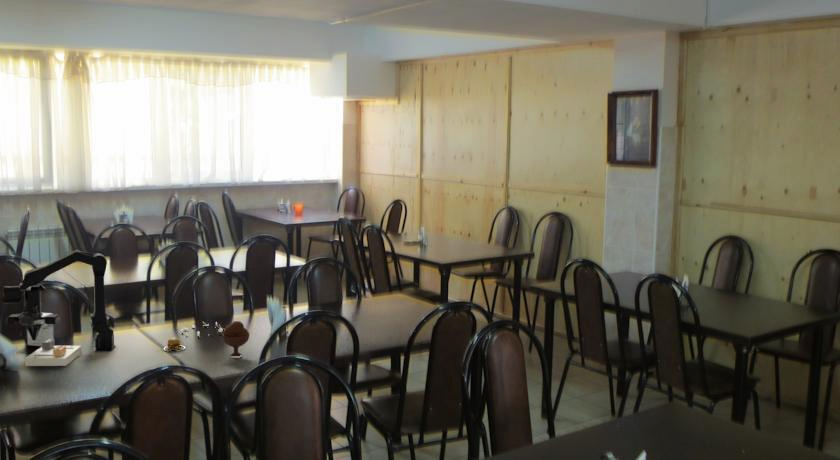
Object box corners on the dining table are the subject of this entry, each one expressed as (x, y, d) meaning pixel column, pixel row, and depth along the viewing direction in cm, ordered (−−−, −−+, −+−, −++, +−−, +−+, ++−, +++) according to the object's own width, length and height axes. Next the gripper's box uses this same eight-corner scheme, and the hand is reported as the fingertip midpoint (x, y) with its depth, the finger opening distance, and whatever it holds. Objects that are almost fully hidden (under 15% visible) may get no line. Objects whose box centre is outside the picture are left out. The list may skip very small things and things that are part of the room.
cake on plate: (195, 348, 332) (195, 336, 331) (176, 356, 321) (176, 343, 320) (172, 345, 337) (172, 333, 336) (153, 352, 326) (152, 339, 325)
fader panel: (81, 352, 320) (81, 345, 320) (65, 365, 302) (65, 358, 302) (43, 352, 319) (43, 345, 318) (25, 365, 301) (24, 357, 301)
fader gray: (54, 345, 317) (54, 338, 317) (49, 349, 312) (49, 342, 312) (47, 345, 317) (46, 338, 317) (42, 349, 312) (41, 342, 312)
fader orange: (66, 352, 308) (65, 345, 308) (61, 356, 303) (61, 349, 303) (58, 352, 308) (57, 345, 308) (53, 356, 303) (53, 349, 303)
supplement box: (42, 346, 328) (41, 316, 326) (27, 345, 329) (26, 315, 328) (54, 342, 335) (53, 313, 334) (39, 340, 336) (37, 311, 335)
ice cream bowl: (254, 354, 324) (254, 319, 322) (239, 361, 313) (239, 325, 311) (232, 351, 327) (232, 316, 325) (216, 358, 317) (216, 322, 315)
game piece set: (233, 331, 361) (233, 323, 360) (200, 341, 344) (200, 332, 343) (203, 325, 370) (203, 317, 370) (170, 334, 353) (169, 326, 353)
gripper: (-1, 306, 303) (0, 345, 305) (49, 306, 305) (50, 345, 307) (11, 300, 314) (13, 338, 316) (60, 300, 316) (61, 338, 318)
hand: (34, 340), depth 314 cm, fingers closed
